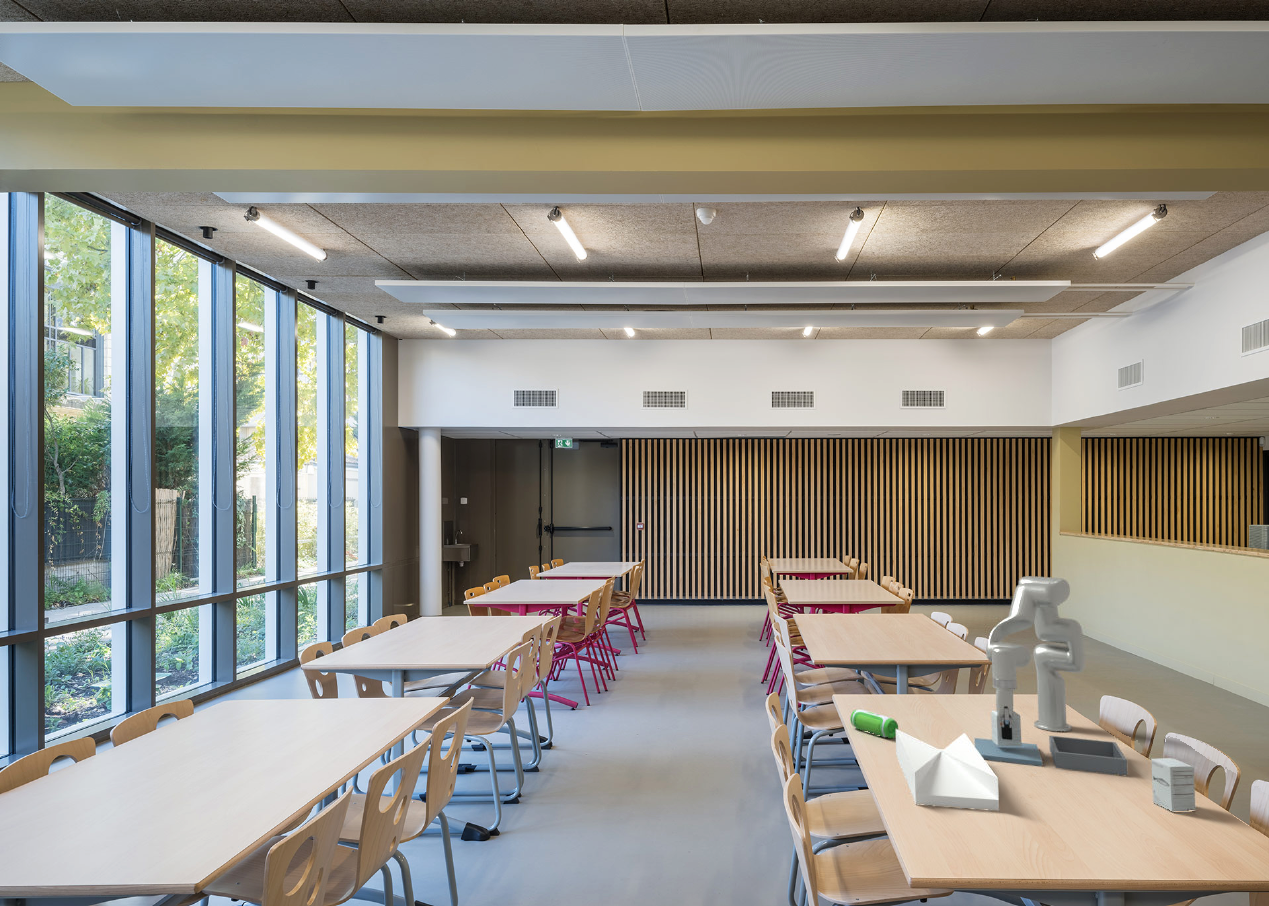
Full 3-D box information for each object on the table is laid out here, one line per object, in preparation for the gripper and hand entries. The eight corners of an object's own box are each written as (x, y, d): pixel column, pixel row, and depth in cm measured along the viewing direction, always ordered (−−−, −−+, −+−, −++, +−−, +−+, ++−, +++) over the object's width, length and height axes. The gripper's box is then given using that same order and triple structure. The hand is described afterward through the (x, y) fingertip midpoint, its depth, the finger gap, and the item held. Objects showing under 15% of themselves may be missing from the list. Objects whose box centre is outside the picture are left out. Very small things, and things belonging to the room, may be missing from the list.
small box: (1015, 741, 270) (1014, 710, 271) (1022, 746, 264) (1020, 715, 265) (991, 741, 271) (990, 710, 271) (997, 746, 265) (996, 714, 266)
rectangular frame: (1049, 750, 271) (1049, 735, 271) (1116, 757, 263) (1115, 742, 264) (1056, 767, 253) (1055, 752, 253) (1127, 776, 245) (1127, 759, 245)
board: (974, 742, 280) (974, 737, 280) (1036, 748, 273) (1036, 744, 273) (975, 758, 262) (975, 754, 262) (1042, 766, 254) (1042, 761, 254)
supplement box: (1152, 803, 223) (1149, 758, 223) (1176, 802, 223) (1174, 757, 224) (1171, 813, 215) (1169, 766, 216) (1196, 812, 216) (1194, 765, 217)
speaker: (899, 738, 286) (899, 717, 286) (886, 741, 282) (885, 720, 283) (862, 726, 301) (862, 706, 301) (849, 729, 297) (849, 709, 297)
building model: (896, 756, 265) (895, 728, 266) (965, 761, 261) (964, 732, 261) (915, 806, 221) (914, 772, 222) (999, 812, 217) (997, 777, 217)
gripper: (991, 677, 278) (993, 728, 277) (993, 688, 262) (995, 742, 261) (1015, 679, 275) (1016, 730, 274) (1018, 690, 259) (1020, 744, 258)
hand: (1006, 735), depth 268 cm, fingers closed on small box, 6 cm apart
